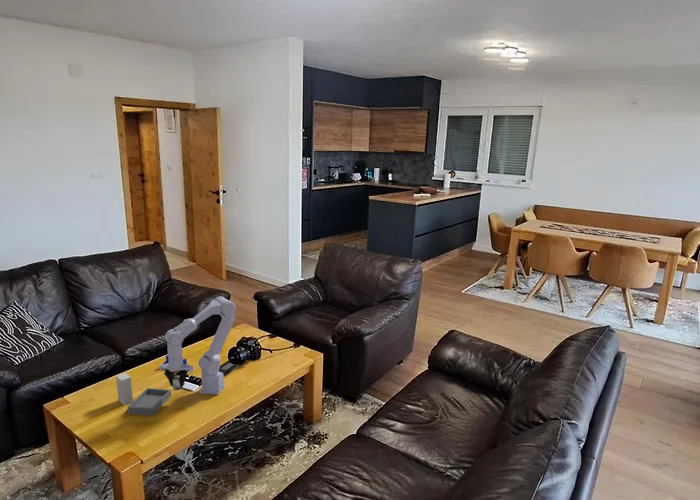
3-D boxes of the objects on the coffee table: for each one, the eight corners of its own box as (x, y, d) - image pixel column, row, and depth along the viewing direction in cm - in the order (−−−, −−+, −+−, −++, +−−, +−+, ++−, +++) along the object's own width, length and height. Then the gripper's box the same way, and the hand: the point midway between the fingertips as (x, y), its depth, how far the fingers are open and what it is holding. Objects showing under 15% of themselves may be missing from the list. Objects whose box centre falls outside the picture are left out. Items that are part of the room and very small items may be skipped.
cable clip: (163, 367, 228) (163, 356, 226) (171, 364, 232) (170, 353, 230) (179, 374, 222) (178, 363, 221) (187, 370, 226) (186, 359, 224)
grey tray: (171, 395, 202) (170, 389, 202) (153, 415, 188) (152, 409, 187) (147, 394, 203) (147, 388, 203) (128, 413, 189) (127, 407, 188)
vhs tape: (242, 365, 233) (242, 361, 232) (224, 377, 220) (224, 374, 220) (230, 362, 236) (230, 358, 235) (212, 374, 223) (212, 370, 222)
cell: (184, 385, 199) (183, 374, 197) (180, 390, 195) (179, 379, 193) (175, 385, 199) (174, 374, 198) (171, 390, 195) (170, 378, 194)
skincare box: (133, 401, 197) (131, 377, 194) (123, 405, 194) (120, 380, 191) (128, 396, 201) (125, 372, 198) (118, 400, 198) (115, 375, 195)
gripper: (154, 359, 190) (157, 388, 193) (187, 362, 189) (189, 390, 192) (163, 352, 197) (165, 380, 200) (194, 354, 196) (196, 382, 199)
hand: (177, 384), depth 197 cm, fingers closed on cell, 4 cm apart
